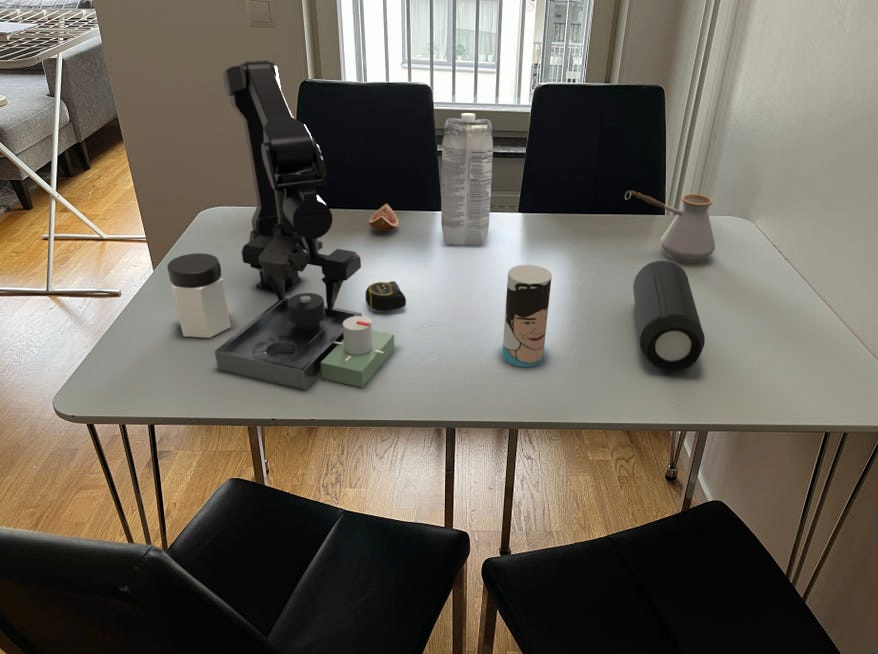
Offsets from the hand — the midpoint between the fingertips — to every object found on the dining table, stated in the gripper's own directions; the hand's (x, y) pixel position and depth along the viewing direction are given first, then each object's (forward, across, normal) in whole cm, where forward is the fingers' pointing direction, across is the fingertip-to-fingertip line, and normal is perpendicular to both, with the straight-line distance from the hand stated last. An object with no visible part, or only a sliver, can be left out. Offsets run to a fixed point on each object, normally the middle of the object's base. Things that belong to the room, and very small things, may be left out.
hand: (305, 304), depth 117 cm
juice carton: (+6, +11, +50) cm, 51 cm away
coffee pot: (+6, +54, +58) cm, 79 cm away
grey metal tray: (+6, 0, -5) cm, 8 cm away
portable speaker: (+6, +57, +22) cm, 61 cm away
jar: (+6, -18, -4) cm, 19 cm away
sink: (+6, 0, -5) cm, 8 cm away
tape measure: (+6, +8, +15) cm, 18 cm away
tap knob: (+3, +12, -5) cm, 13 cm away
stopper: (+4, 0, 0) cm, 4 cm away
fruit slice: (+6, -8, +48) cm, 49 cm away
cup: (+6, +36, +7) cm, 37 cm away
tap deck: (+6, +12, -5) cm, 14 cm away
